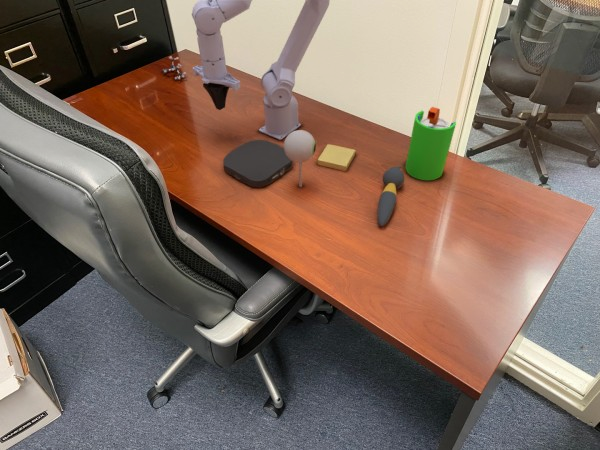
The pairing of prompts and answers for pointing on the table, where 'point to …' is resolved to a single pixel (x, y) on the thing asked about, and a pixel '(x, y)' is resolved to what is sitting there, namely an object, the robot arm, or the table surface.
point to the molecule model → (175, 68)
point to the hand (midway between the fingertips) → (220, 107)
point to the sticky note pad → (336, 157)
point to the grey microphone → (389, 193)
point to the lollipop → (299, 148)
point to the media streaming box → (257, 162)
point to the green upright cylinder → (429, 145)
